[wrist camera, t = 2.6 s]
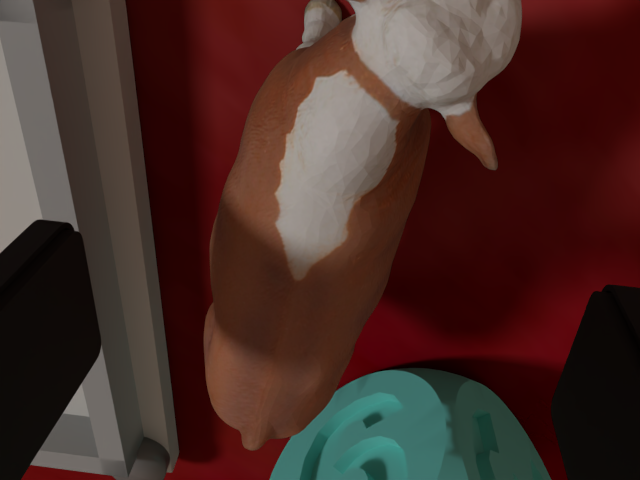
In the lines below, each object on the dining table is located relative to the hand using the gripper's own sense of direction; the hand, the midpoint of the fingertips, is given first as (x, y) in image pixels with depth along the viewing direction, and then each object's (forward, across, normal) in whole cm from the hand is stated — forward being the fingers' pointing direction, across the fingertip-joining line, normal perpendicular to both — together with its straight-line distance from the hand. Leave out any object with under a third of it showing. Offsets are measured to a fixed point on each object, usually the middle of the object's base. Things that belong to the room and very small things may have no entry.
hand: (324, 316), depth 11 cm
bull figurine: (+8, 0, -1) cm, 8 cm away
